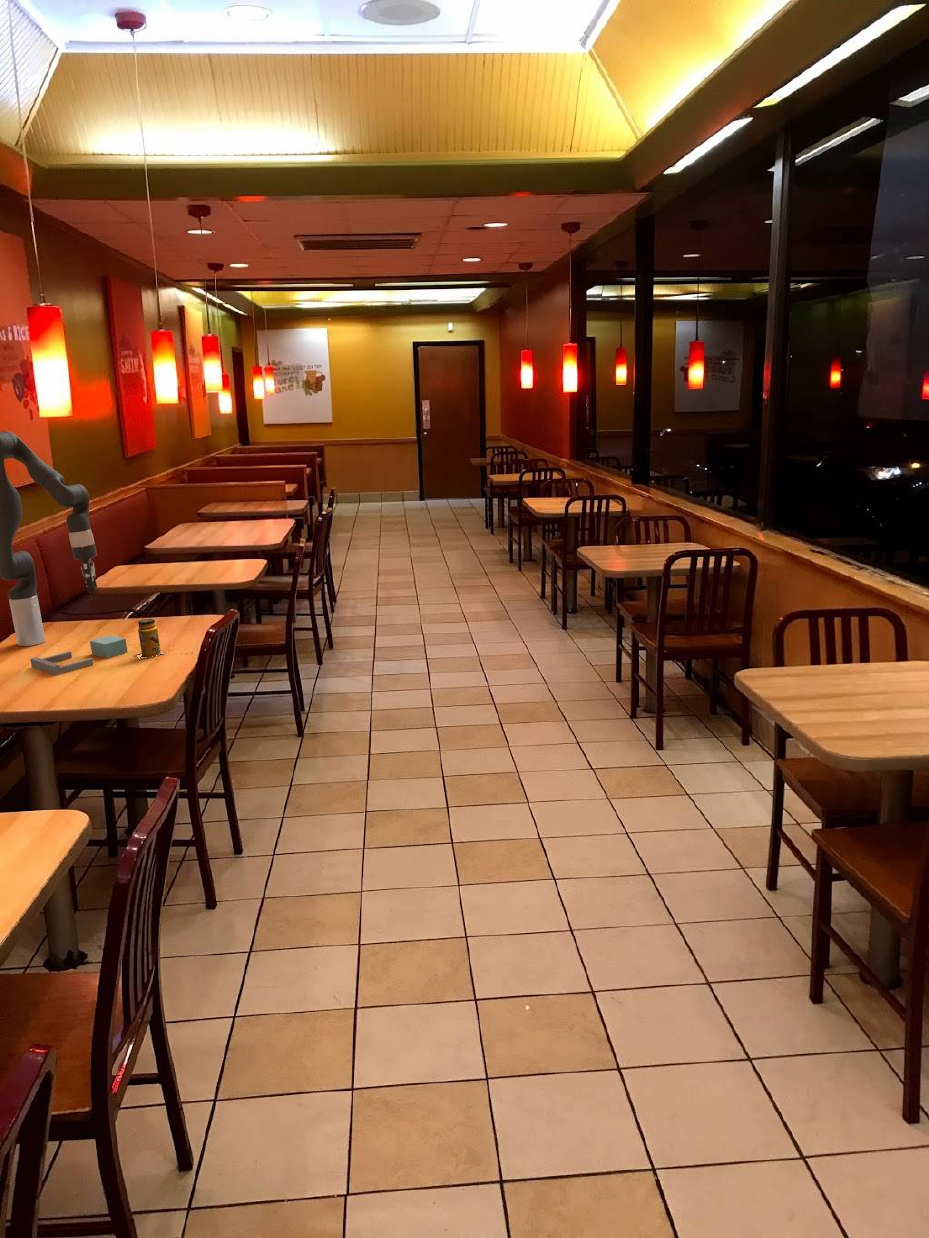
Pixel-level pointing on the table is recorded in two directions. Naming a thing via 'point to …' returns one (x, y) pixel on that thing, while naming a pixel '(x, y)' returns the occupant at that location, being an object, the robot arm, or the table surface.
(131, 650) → the table surface
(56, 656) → the grey u-shaped bracket
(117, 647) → the carton
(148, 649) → the condiment
